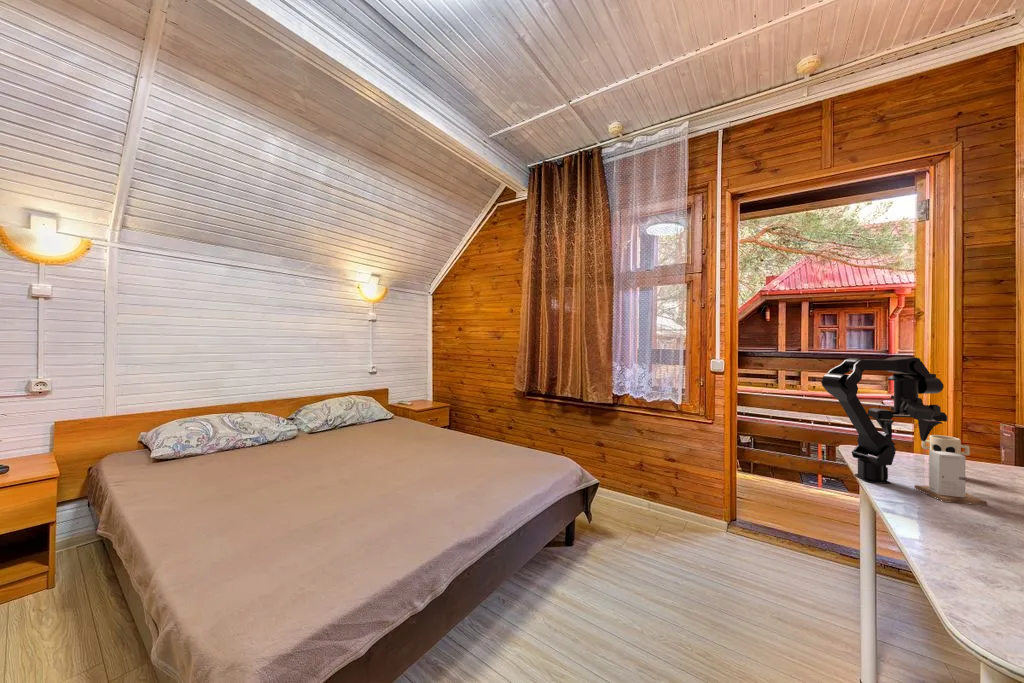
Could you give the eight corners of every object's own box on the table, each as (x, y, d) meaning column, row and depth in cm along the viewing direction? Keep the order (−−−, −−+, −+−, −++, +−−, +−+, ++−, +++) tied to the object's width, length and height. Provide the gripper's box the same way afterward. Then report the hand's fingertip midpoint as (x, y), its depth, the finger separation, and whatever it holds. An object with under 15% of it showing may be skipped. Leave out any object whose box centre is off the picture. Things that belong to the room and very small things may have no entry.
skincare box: (939, 495, 109) (939, 454, 109) (927, 489, 113) (927, 450, 113) (967, 498, 107) (967, 456, 107) (954, 492, 111) (954, 451, 111)
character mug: (920, 472, 131) (919, 435, 131) (923, 468, 135) (923, 432, 135) (968, 481, 122) (968, 442, 122) (970, 477, 127) (970, 439, 127)
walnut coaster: (942, 501, 107) (942, 498, 107) (914, 488, 117) (914, 485, 117) (986, 505, 105) (986, 501, 105) (954, 491, 114) (954, 488, 114)
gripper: (890, 396, 120) (890, 444, 120) (963, 398, 115) (963, 448, 115) (866, 392, 130) (866, 436, 130) (932, 393, 126) (932, 439, 126)
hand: (906, 440), depth 125 cm, fingers open, 9 cm apart
